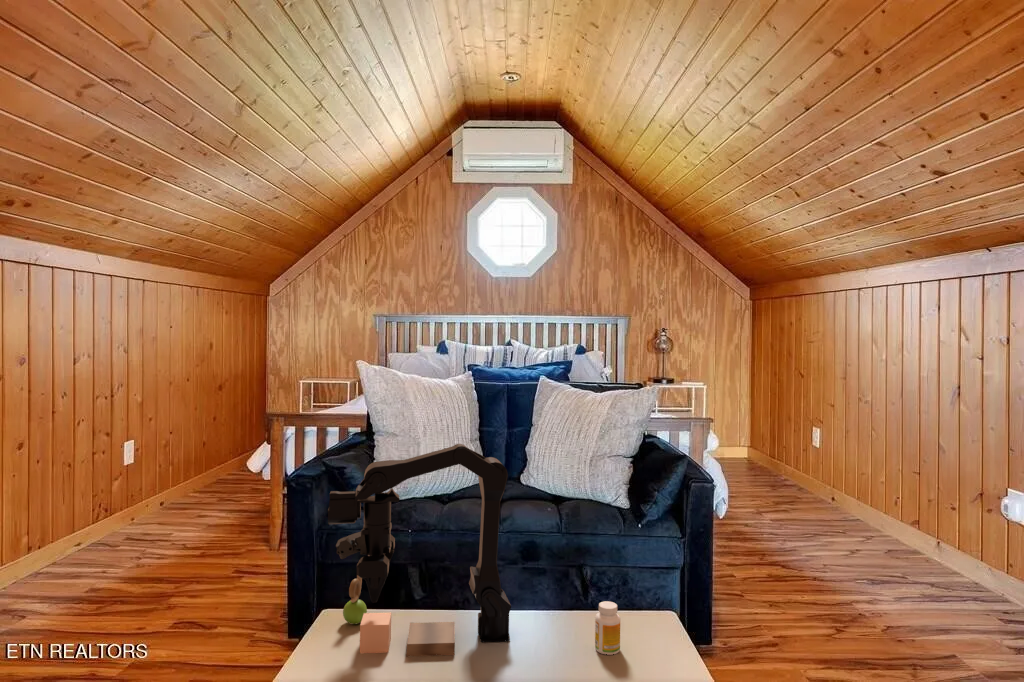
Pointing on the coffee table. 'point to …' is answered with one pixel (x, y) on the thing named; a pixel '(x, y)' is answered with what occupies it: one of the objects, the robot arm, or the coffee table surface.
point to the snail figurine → (354, 603)
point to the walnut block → (431, 639)
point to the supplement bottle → (607, 629)
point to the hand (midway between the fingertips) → (376, 593)
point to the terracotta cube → (375, 633)
